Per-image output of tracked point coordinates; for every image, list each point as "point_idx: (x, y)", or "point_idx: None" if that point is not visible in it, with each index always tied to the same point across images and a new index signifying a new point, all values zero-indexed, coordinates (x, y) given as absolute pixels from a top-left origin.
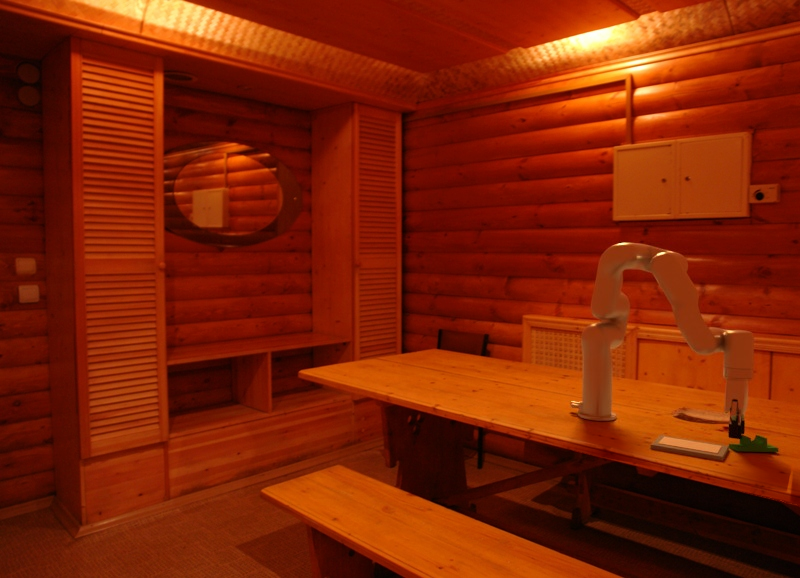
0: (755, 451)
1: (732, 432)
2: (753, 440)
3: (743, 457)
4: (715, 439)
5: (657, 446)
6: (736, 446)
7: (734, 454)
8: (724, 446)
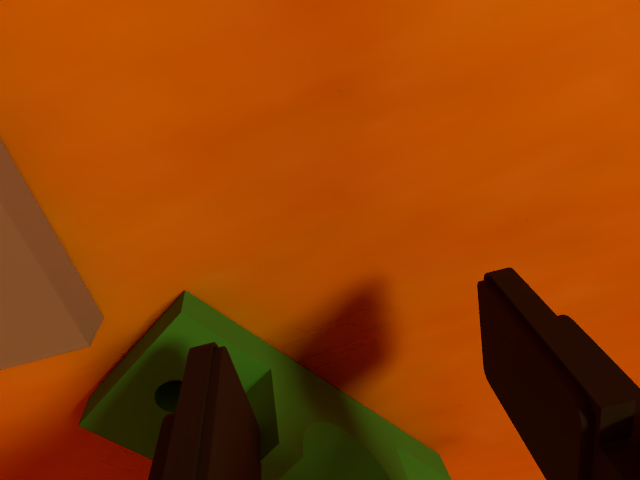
0: None
1: (164, 450)
2: (367, 460)
3: (15, 455)
4: (418, 51)
5: None
6: (110, 407)
7: (21, 393)
8: (17, 333)
